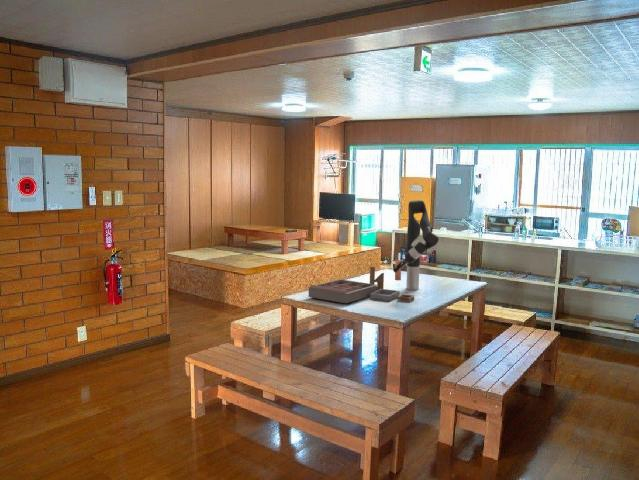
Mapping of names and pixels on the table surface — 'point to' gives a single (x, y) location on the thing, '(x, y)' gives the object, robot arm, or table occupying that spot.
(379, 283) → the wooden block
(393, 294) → the tray
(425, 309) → the table surface
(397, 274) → the dowel
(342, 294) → the organizer tray
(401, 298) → the dowel collar
